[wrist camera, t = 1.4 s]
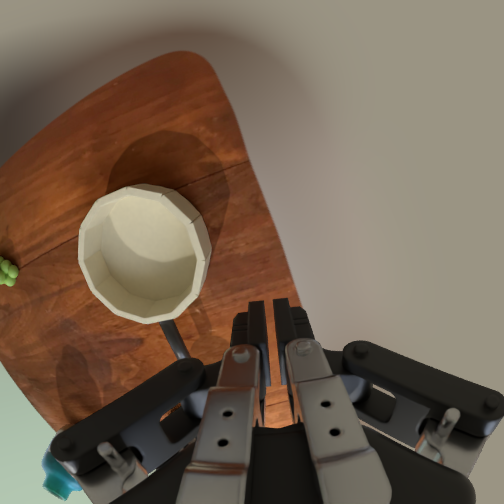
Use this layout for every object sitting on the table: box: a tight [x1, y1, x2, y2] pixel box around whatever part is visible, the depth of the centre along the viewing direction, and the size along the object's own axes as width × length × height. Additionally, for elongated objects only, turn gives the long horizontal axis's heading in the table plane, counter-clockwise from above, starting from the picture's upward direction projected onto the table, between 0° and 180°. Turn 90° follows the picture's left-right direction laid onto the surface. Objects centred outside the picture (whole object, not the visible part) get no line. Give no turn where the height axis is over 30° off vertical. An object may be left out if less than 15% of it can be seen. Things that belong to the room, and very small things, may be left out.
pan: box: [78, 184, 212, 360], centre depth 29 cm, size 23×14×5 cm, turn 16°
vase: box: [42, 424, 82, 501], centre depth 33 cm, size 11×11×19 cm
